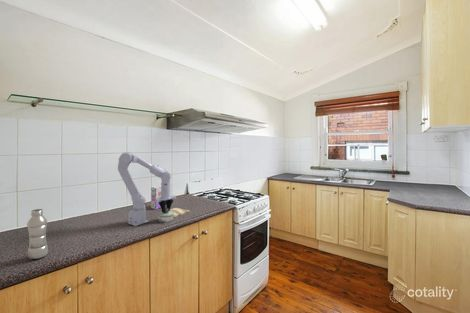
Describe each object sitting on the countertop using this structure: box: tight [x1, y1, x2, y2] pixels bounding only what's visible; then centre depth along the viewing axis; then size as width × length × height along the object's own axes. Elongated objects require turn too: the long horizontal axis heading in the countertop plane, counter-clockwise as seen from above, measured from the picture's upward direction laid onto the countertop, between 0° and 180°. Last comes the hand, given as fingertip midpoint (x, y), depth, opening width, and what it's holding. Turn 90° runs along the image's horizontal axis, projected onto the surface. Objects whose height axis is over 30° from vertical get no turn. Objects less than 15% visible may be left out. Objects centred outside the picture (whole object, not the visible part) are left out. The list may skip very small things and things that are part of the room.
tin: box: [157, 215, 174, 224], centre depth 143 cm, size 9×9×4 cm
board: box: [170, 207, 191, 218], centre depth 159 cm, size 16×14×1 cm
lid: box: [157, 207, 174, 217], centre depth 143 cm, size 10×10×4 cm
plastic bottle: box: [26, 208, 49, 260], centre depth 94 cm, size 6×7×20 cm
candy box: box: [150, 185, 166, 211], centre depth 173 cm, size 14×6×16 cm, turn 143°
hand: (165, 211), depth 143 cm, fingers closed on lid, 3 cm apart
